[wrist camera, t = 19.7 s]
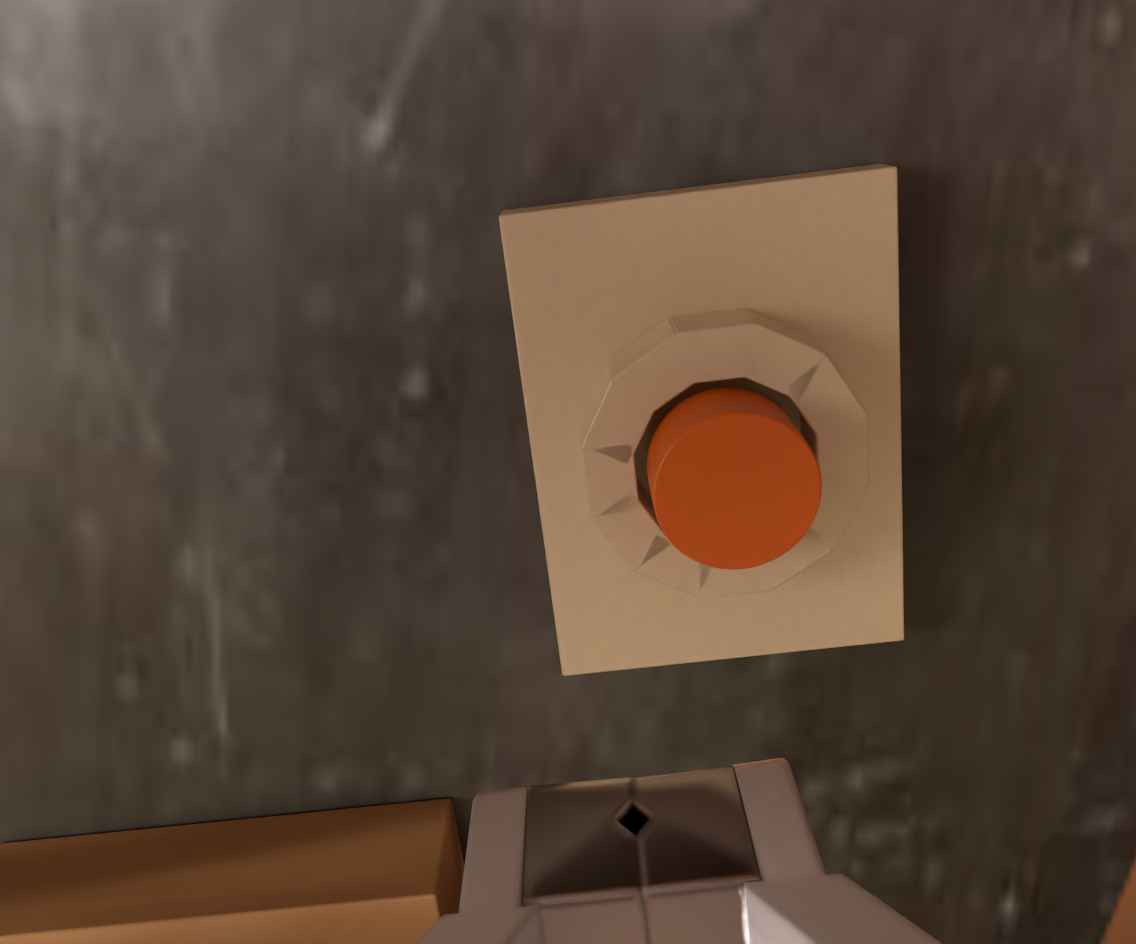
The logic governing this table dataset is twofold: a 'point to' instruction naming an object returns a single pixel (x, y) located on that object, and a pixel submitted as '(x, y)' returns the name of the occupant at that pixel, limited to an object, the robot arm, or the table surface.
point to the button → (732, 479)
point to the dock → (240, 880)
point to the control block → (703, 362)
